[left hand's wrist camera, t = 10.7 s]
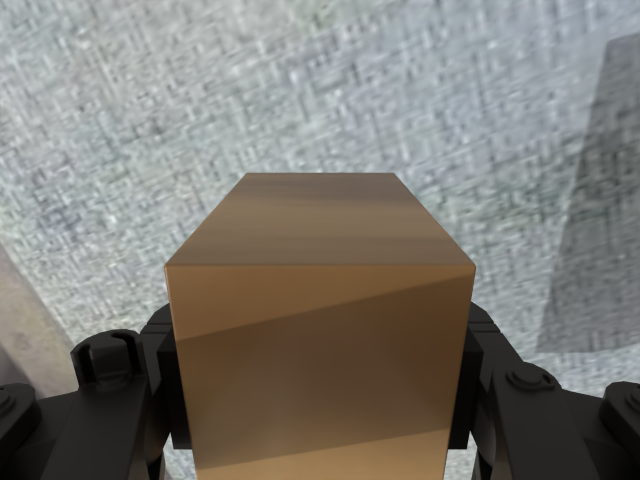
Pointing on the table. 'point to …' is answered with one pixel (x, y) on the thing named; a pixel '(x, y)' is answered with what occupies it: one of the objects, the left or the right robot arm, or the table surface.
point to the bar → (320, 330)
